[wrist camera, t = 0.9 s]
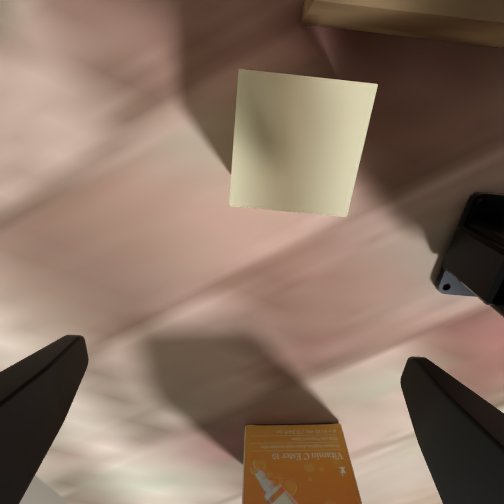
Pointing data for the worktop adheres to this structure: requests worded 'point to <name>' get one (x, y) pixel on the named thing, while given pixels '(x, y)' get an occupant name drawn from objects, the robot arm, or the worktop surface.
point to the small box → (297, 465)
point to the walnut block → (414, 18)
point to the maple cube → (298, 141)
